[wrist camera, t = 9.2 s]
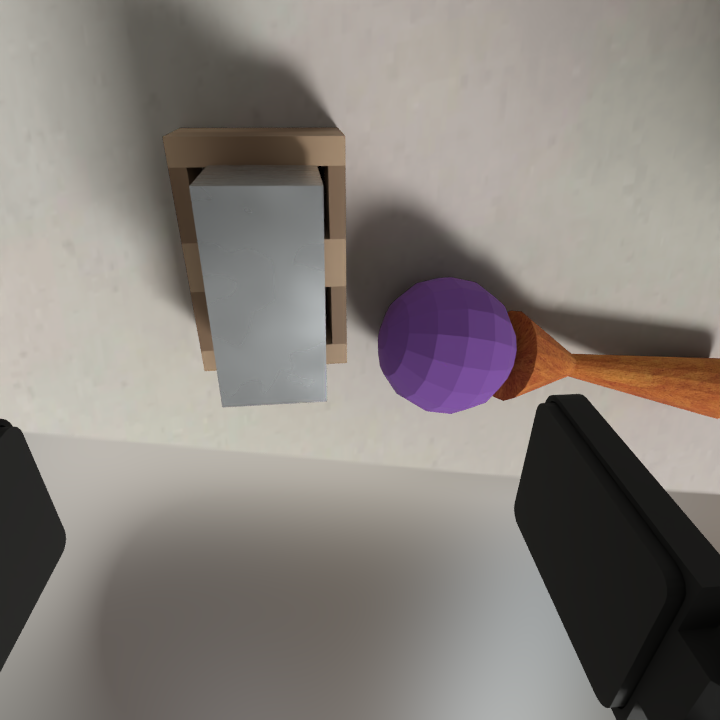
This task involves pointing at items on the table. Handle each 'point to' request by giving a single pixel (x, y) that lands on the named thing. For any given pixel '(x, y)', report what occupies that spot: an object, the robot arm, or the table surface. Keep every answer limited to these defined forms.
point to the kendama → (513, 355)
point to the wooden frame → (264, 148)
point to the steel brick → (264, 280)
